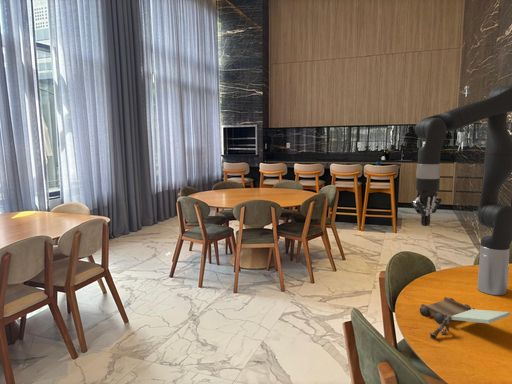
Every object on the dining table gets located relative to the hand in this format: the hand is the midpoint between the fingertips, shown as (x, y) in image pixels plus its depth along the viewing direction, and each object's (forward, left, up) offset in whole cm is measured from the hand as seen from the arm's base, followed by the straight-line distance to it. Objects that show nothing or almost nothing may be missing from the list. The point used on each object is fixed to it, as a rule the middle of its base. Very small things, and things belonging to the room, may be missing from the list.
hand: (425, 225), depth 134 cm
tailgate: (+4, +18, -24) cm, 31 cm away
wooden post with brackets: (+17, +20, -27) cm, 38 cm away
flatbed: (+4, +12, -27) cm, 30 cm away
